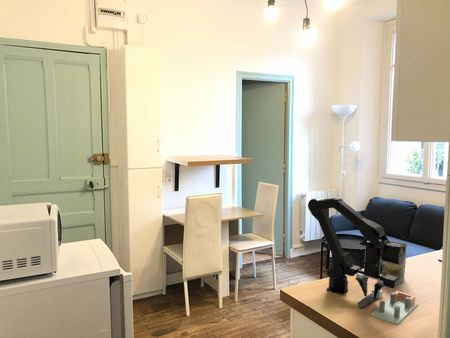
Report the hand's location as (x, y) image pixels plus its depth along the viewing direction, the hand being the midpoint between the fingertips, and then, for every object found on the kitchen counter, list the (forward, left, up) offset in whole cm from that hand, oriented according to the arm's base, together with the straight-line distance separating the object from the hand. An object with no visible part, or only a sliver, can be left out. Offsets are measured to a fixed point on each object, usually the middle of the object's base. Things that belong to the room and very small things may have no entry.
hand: (370, 297), depth 142 cm
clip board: (+10, -1, -1) cm, 10 cm away
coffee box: (-2, +30, -1) cm, 30 cm away
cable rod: (0, -1, -1) cm, 2 cm away
